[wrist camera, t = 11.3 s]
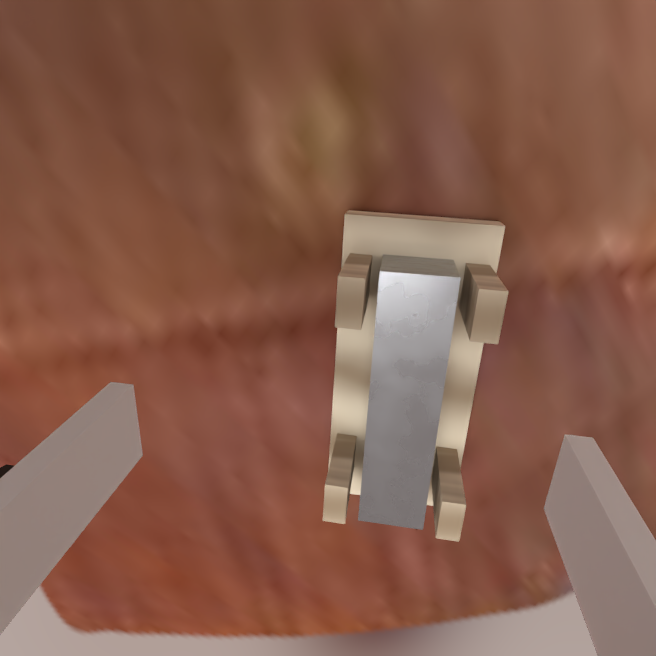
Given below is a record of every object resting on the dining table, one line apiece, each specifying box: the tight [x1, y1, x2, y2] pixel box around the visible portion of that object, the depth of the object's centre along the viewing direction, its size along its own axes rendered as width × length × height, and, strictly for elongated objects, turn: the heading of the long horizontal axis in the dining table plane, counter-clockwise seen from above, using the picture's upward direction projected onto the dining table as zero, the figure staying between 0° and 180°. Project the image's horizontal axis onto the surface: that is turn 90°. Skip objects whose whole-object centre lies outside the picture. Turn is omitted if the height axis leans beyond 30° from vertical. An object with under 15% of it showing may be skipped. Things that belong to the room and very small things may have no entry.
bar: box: [358, 254, 461, 530], centre depth 32 cm, size 18×4×4 cm, turn 177°
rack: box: [323, 210, 508, 542], centre depth 32 cm, size 22×10×8 cm, turn 177°
